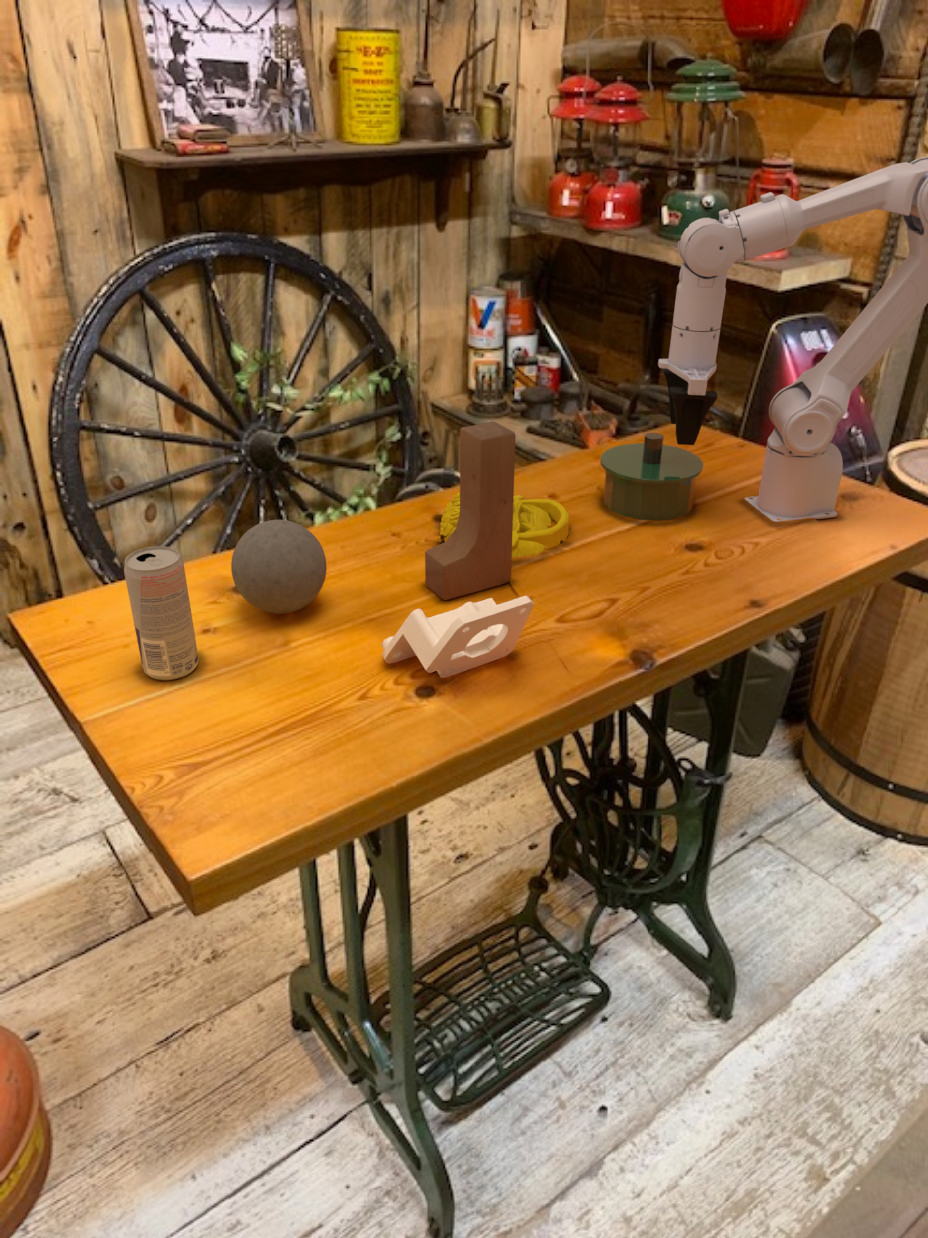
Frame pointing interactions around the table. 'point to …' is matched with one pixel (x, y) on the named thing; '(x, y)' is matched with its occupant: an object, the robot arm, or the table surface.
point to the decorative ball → (278, 566)
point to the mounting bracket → (460, 636)
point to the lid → (651, 462)
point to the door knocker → (522, 524)
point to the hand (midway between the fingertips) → (682, 433)
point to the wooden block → (478, 517)
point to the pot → (648, 498)
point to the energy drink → (161, 612)
